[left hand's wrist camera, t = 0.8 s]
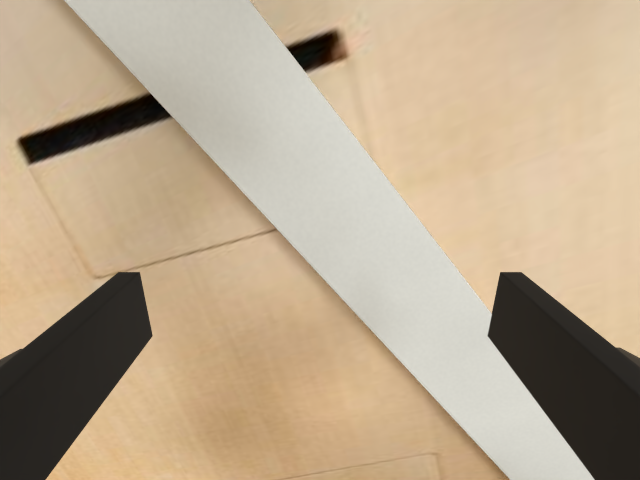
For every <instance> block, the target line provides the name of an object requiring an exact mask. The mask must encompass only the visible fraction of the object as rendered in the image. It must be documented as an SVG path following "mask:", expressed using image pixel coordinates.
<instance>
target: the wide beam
mask: <svg viewBox="0 0 640 480" xmlns="http://www.w3.org/2000/svg"><path fill="white" fill-rule="evenodd" d="M64 1H65V2H66V3H67V4H68V5H69V6H70V7H71V8H72V9H73V10H74V12H75V13H76V14H77V15H78V16H79V17H80V18H81V19H82V20H83V21H84V22H85V23H86V24H87V26H88V27H89V28H90V29H91V30H92V31H93V32H94V33H95V34H96V35H97V36H98V37H99V38H100V39H101V41H102V42H103V43H104V44H105V45H106V46H107V47H108V48H109V49H110V50H111V51H112V52H113V53H114V55H115V56H116V57H117V58H118V59H119V60H120V61H121V62H122V63H123V64H124V65H125V66H126V67H127V69H128V70H129V71H130V72H131V73H132V74H133V75H134V76H135V77H136V78H137V79H138V80H139V81H140V82H141V84H142V85H143V86H144V87H145V88H146V89H147V90H148V91H149V92H150V93H151V94H152V95H153V96H154V98H155V99H156V100H157V101H158V102H159V103H160V104H161V105H162V106H163V107H164V108H165V109H166V110H167V111H168V113H169V114H170V115H171V116H172V117H173V118H174V119H175V120H176V121H177V122H178V123H179V124H180V125H181V127H182V128H183V129H184V130H185V131H186V132H187V133H188V134H189V135H190V136H191V137H192V138H193V139H194V140H195V142H196V143H197V144H198V145H199V146H200V147H201V148H202V149H203V150H204V151H205V152H206V153H207V154H208V156H209V157H210V158H211V159H212V160H213V161H214V162H215V163H216V164H217V165H218V166H219V167H220V168H221V170H222V171H223V172H224V173H225V174H226V175H227V176H228V177H229V178H230V179H231V180H232V181H233V182H234V183H235V185H236V186H237V187H238V188H239V189H240V190H241V191H242V192H243V193H244V194H245V195H246V196H247V197H248V199H249V200H250V201H251V202H252V203H253V204H254V205H255V206H256V207H257V208H258V209H259V210H260V211H261V212H262V214H263V215H264V216H265V217H266V218H267V219H268V220H269V221H270V222H271V223H272V224H273V225H274V226H275V228H276V229H277V230H278V231H279V232H280V233H281V234H282V235H283V236H284V237H285V238H286V239H287V240H288V241H289V243H290V244H291V245H292V246H293V247H294V248H295V249H296V250H297V251H298V252H299V253H300V254H301V255H302V257H303V258H304V259H305V260H306V261H307V262H308V263H309V264H310V265H311V266H312V267H313V268H314V269H315V271H316V272H317V273H318V274H319V275H320V276H321V277H322V278H323V279H324V280H325V281H326V282H327V283H328V284H329V286H330V287H331V288H332V289H333V290H334V291H335V292H336V293H337V294H338V295H339V296H340V297H341V298H342V300H343V301H344V302H345V303H346V304H347V305H348V306H349V307H350V308H351V309H352V310H353V311H354V312H355V313H356V315H357V316H358V317H359V318H360V319H361V320H362V321H363V322H364V323H365V324H366V325H367V326H368V327H369V329H370V330H371V331H372V332H373V333H374V334H375V335H376V336H377V337H378V338H379V339H380V340H381V341H382V342H383V344H384V345H385V346H386V347H387V348H388V349H389V350H390V351H391V352H392V353H393V354H394V355H395V356H396V358H397V359H398V360H399V361H400V362H401V363H402V364H403V365H404V366H405V367H406V368H407V369H408V370H409V372H410V373H411V374H412V375H413V376H414V377H415V378H416V379H417V380H418V381H419V382H420V383H421V384H422V385H423V387H424V388H425V389H426V390H427V391H428V392H429V393H430V394H431V395H432V396H433V397H434V398H435V399H436V401H437V402H438V403H439V404H440V405H441V406H442V407H443V408H444V409H445V410H446V411H447V412H448V413H449V414H450V416H451V417H452V418H453V419H454V420H455V421H456V422H457V423H458V424H459V425H460V426H461V427H462V428H463V430H464V431H465V432H466V433H467V434H468V435H469V436H470V437H471V438H472V439H473V440H474V441H475V442H476V443H477V445H478V446H479V447H480V448H481V449H482V450H483V451H484V452H485V453H486V454H487V455H488V456H489V457H490V459H491V460H492V461H493V462H494V463H495V464H496V465H497V466H498V467H499V468H500V469H501V470H502V471H503V473H504V474H505V475H506V476H507V477H508V478H509V479H510V480H594V478H593V477H592V476H591V474H590V473H589V471H588V470H587V469H586V467H585V466H584V465H583V463H582V462H581V461H580V459H579V458H578V457H577V455H576V454H575V453H574V451H573V450H572V449H571V447H570V446H569V445H568V443H567V442H566V441H565V439H564V438H563V437H562V435H561V434H560V433H559V431H558V430H557V429H556V427H555V426H554V425H553V423H552V422H551V421H550V419H549V418H548V416H547V415H546V414H545V412H544V411H543V410H542V408H541V407H540V406H539V404H538V403H537V402H536V400H535V399H534V398H533V396H532V395H531V394H530V392H529V391H528V390H527V388H526V387H525V386H524V384H523V383H522V382H521V380H520V379H519V378H518V376H517V375H516V374H515V372H514V371H513V370H512V368H511V367H510V365H509V364H508V363H507V361H506V360H505V359H504V357H503V356H502V355H501V353H500V352H499V351H498V349H497V348H496V347H495V345H494V344H493V343H492V341H491V340H490V339H489V337H488V331H489V326H490V321H491V316H492V313H491V312H490V311H489V310H488V308H487V307H486V306H485V304H484V303H483V302H482V300H481V299H480V298H479V297H478V295H477V294H476V293H475V291H474V290H473V289H472V288H471V286H470V285H469V284H468V282H467V281H466V280H465V278H464V277H463V276H462V275H461V273H460V272H459V271H458V269H457V268H456V267H455V266H454V264H453V263H452V262H451V260H450V259H449V258H448V256H447V255H446V254H445V253H444V251H443V250H442V249H441V247H440V246H439V245H438V244H437V242H436V241H435V240H434V238H433V237H432V236H431V234H430V233H429V232H428V231H427V229H426V228H425V227H424V225H423V224H422V223H421V222H420V220H419V219H418V218H417V216H416V215H415V214H414V212H413V211H412V210H411V209H410V207H409V206H408V205H407V203H406V202H405V201H404V200H403V198H402V197H401V196H400V194H399V193H398V192H397V190H396V189H395V188H394V187H393V185H392V184H391V183H390V181H389V180H388V179H387V178H386V176H385V175H384V174H383V172H382V171H381V170H380V168H379V167H378V166H377V165H376V163H375V162H374V161H373V159H372V158H371V157H370V156H369V154H368V153H367V152H366V150H365V149H364V148H363V146H362V145H361V144H360V143H359V141H358V140H357V139H356V137H355V136H354V135H353V134H352V132H351V131H350V130H349V128H348V127H347V126H346V124H345V123H344V122H343V121H342V119H341V118H340V117H339V115H338V114H337V113H336V111H335V110H334V109H333V108H332V106H331V105H330V104H329V102H328V101H327V100H326V99H325V97H324V96H323V95H322V93H321V92H320V91H319V89H318V88H317V87H316V86H315V84H314V83H313V82H312V80H311V79H310V78H309V77H308V75H307V74H306V73H305V71H304V70H303V69H302V67H301V66H300V65H299V64H298V62H297V61H296V60H295V58H294V57H293V56H292V55H291V53H290V52H289V51H288V49H287V48H286V47H285V45H284V44H283V43H282V42H281V40H280V39H279V38H278V36H277V35H276V34H275V33H274V31H273V30H272V29H271V27H270V26H269V25H268V23H267V22H266V21H265V20H264V18H263V17H262V16H261V14H260V13H259V12H258V11H257V9H256V8H255V7H254V5H253V4H252V3H251V1H250V0H64Z"/></svg>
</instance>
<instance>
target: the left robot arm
mask: <svg viewBox="0 0 640 480" xmlns="http://www.w3.org/2000/svg"><path fill="white" fill-rule="evenodd" d="M151 337H152V331H151V326H150V321H149V316H148V311H147V306H146V301H145V296H144V291H143V286H142V281H141V276H140V272H118V273H117V274H116V275H115V276H113V277H112V278H111V279H110V280H108V281H107V282H106V283H105V284H103V285H102V286H101V287H100V288H98V289H97V290H96V291H95V292H93V293H92V294H91V295H90V296H88V297H87V298H86V299H85V300H83V301H82V302H81V303H80V304H78V305H77V306H76V307H75V308H73V309H72V310H71V311H70V312H68V313H67V314H66V315H65V316H63V317H62V318H61V319H60V320H58V321H57V322H56V323H55V324H53V325H52V326H51V327H50V328H48V329H47V330H46V331H45V332H43V333H42V334H41V335H40V336H38V337H37V338H36V339H35V340H33V341H32V342H31V343H30V344H28V345H27V346H26V347H25V348H23V349H19V350H18V351H16V352H14V353H12V354H10V355H8V356H6V357H4V358H3V359H1V360H0V480H46V478H47V477H48V476H49V474H50V473H51V471H52V470H53V469H54V467H55V466H56V465H57V463H58V462H59V461H60V459H61V458H62V457H63V455H64V454H65V453H66V451H67V450H68V449H69V447H70V446H71V445H72V443H73V442H74V441H75V439H76V438H77V437H78V435H79V434H80V433H81V431H82V430H83V429H84V427H85V426H86V425H87V423H88V422H89V420H90V419H91V418H92V416H93V415H94V414H95V412H96V411H97V410H98V408H99V407H100V406H101V404H102V403H103V402H104V400H105V399H106V398H107V396H108V395H109V394H110V392H111V391H112V390H113V388H114V387H115V386H116V384H117V383H118V382H119V380H120V379H121V378H122V376H123V375H124V374H125V372H126V371H127V370H128V368H129V367H130V365H131V364H132V363H133V361H134V360H135V359H136V357H137V356H138V355H139V353H140V352H141V351H142V349H143V348H144V347H145V345H146V344H147V343H148V341H149V340H150V339H151ZM488 337H489V339H490V340H491V341H492V343H493V344H494V345H495V347H496V348H497V349H498V351H499V352H500V353H501V355H502V356H503V357H504V359H505V360H506V361H507V363H508V364H509V365H510V367H511V368H512V370H513V371H514V372H515V374H516V375H517V376H518V378H519V379H520V380H521V382H522V383H523V384H524V386H525V387H526V388H527V390H528V391H529V392H530V394H531V395H532V396H533V398H534V399H535V400H536V402H537V403H538V404H539V406H540V407H541V408H542V410H543V411H544V412H545V414H546V415H547V416H548V418H549V419H550V421H551V422H552V423H553V425H554V426H555V427H556V429H557V430H558V431H559V433H560V434H561V435H562V437H563V438H564V439H565V441H566V442H567V443H568V445H569V446H570V447H571V449H572V450H573V451H574V453H575V454H576V455H577V457H578V458H579V459H580V461H581V462H582V463H583V465H584V466H585V467H586V469H587V470H588V471H589V473H590V474H591V476H592V477H593V478H594V480H640V358H638V357H637V356H635V355H633V354H631V353H629V352H627V351H625V350H623V349H621V348H615V347H614V346H613V345H612V344H610V343H609V342H608V341H607V340H605V339H604V338H603V337H602V336H600V335H599V334H598V333H597V332H595V331H594V330H593V329H592V328H590V327H589V326H588V325H587V324H585V323H584V322H583V321H582V320H580V319H579V318H578V317H577V316H575V315H574V314H573V313H572V312H570V311H569V310H568V309H567V308H565V307H564V306H563V305H562V304H560V303H559V302H558V301H557V300H555V299H554V298H553V297H552V296H550V295H549V294H548V293H547V292H545V291H544V290H543V289H542V288H540V287H539V286H538V285H537V284H535V283H534V282H533V281H532V280H530V279H529V278H528V277H527V276H525V275H524V274H523V273H522V272H500V276H499V281H498V286H497V291H496V296H495V301H494V306H493V311H492V316H491V321H490V326H489V331H488Z"/></svg>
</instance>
